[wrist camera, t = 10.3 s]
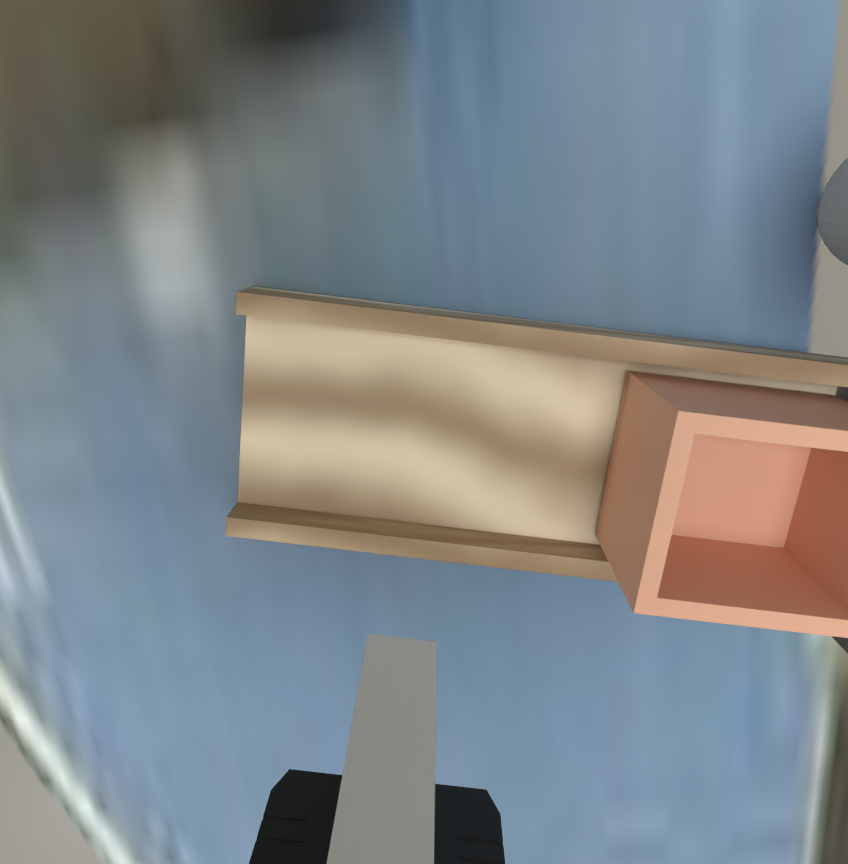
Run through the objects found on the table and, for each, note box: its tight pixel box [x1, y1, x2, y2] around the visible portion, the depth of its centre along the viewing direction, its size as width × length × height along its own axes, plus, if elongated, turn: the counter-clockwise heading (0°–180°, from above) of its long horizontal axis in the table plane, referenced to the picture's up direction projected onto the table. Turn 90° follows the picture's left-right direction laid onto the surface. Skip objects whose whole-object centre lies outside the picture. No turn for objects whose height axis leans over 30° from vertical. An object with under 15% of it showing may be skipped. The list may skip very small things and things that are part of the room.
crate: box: [595, 371, 848, 638], centre depth 32 cm, size 9×10×8 cm
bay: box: [226, 286, 848, 653], centre depth 33 cm, size 12×30×8 cm, turn 83°
